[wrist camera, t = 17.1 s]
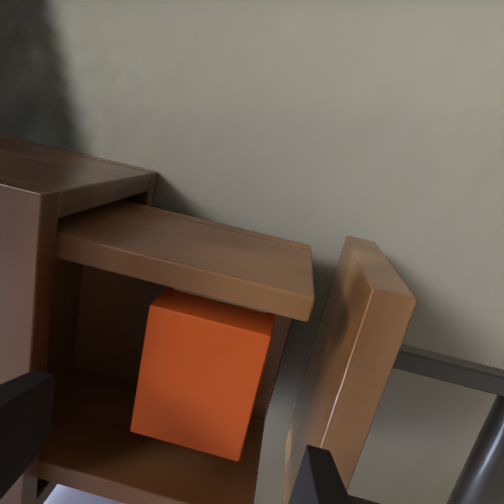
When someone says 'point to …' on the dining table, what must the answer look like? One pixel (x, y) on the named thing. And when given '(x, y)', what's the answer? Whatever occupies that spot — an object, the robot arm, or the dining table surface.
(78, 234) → the drawer
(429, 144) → the dining table surface
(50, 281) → the cabinet
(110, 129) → the dining table surface
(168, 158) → the dining table surface
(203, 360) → the orange block
